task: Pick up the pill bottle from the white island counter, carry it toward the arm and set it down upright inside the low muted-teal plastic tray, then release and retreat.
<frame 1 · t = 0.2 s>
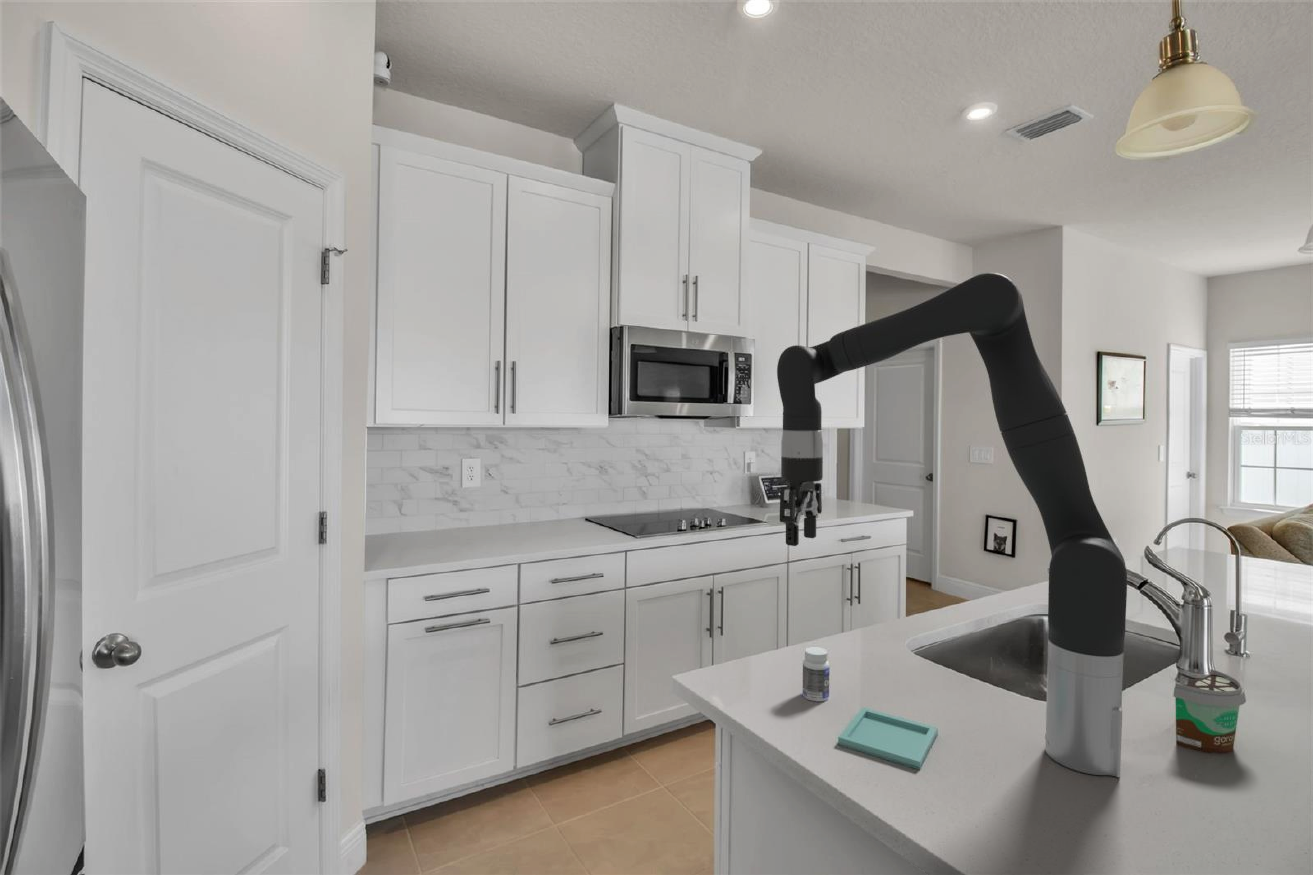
hand: (801, 541, 118), 27 cm above the counter, fingers open, 8 cm apart
pill bottle: (815, 697, 115), on the counter
tray: (888, 739, 100), on the counter
food container: (1215, 747, 98), on the counter
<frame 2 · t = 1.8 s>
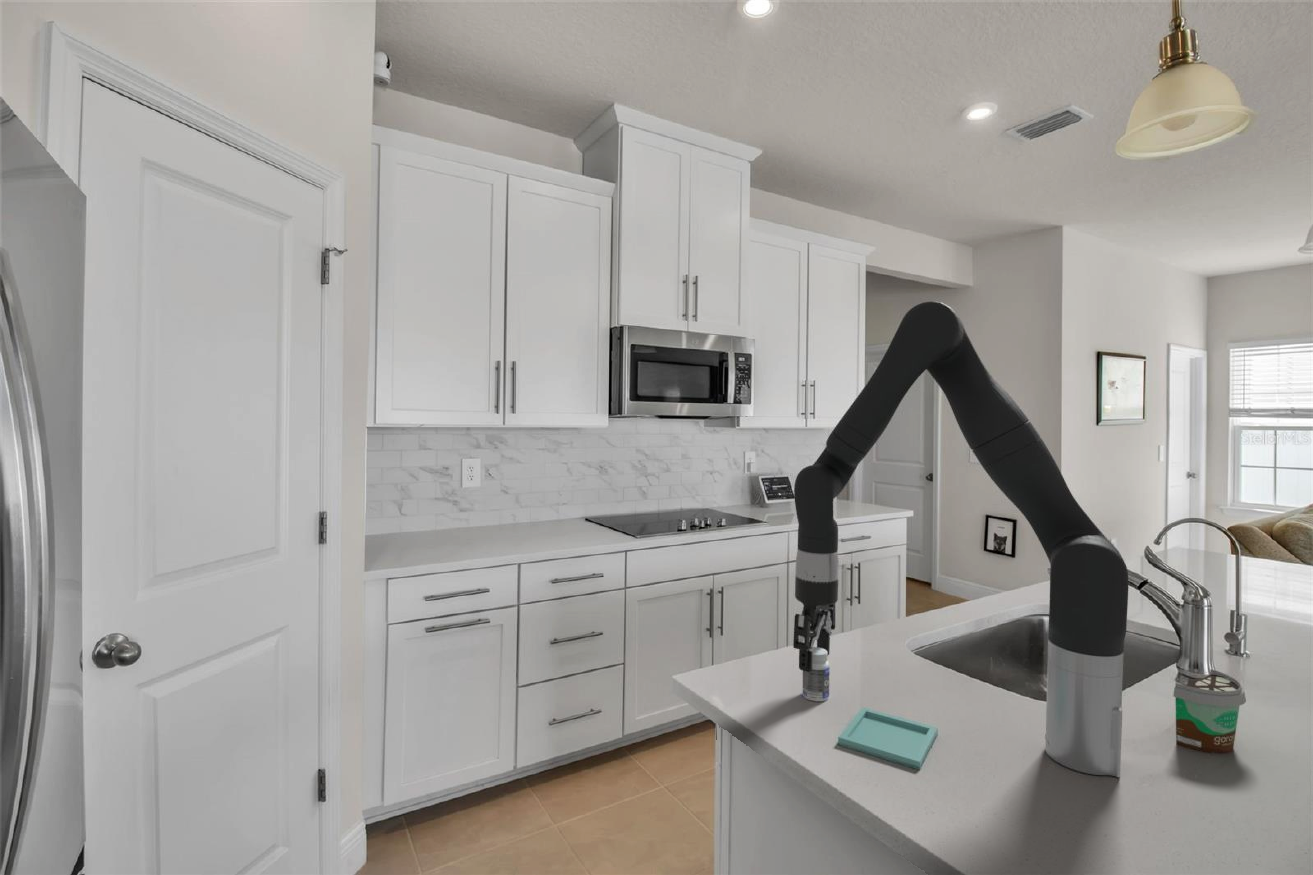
hand: (814, 662, 115), 6 cm above the counter, fingers open, 8 cm apart
nothing on the counter moved.
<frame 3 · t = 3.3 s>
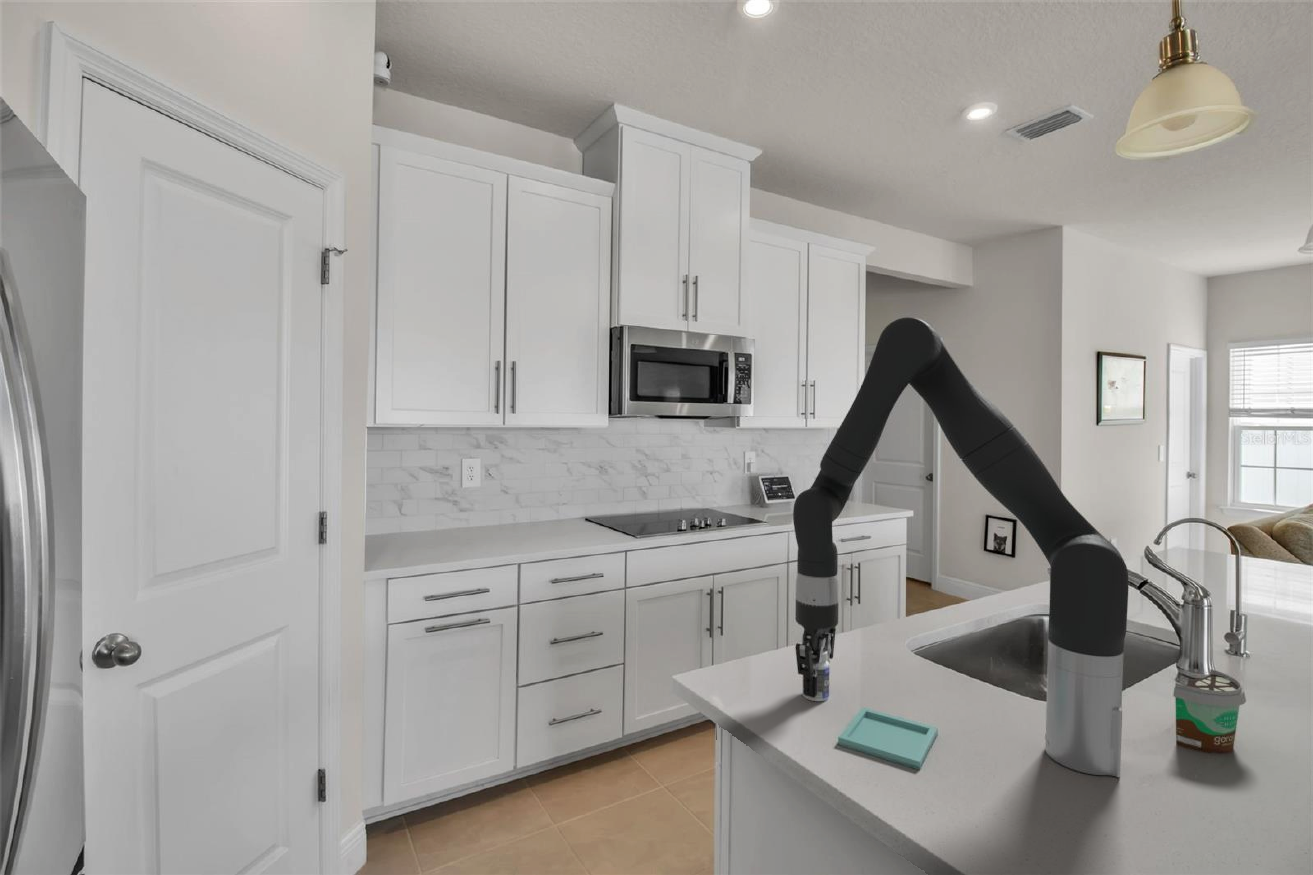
hand: (815, 689, 115), 1 cm above the counter, fingers closed on pill bottle, 4 cm apart
pill bottle: (815, 697, 115), on the counter, touching gripper
everything else where it was.
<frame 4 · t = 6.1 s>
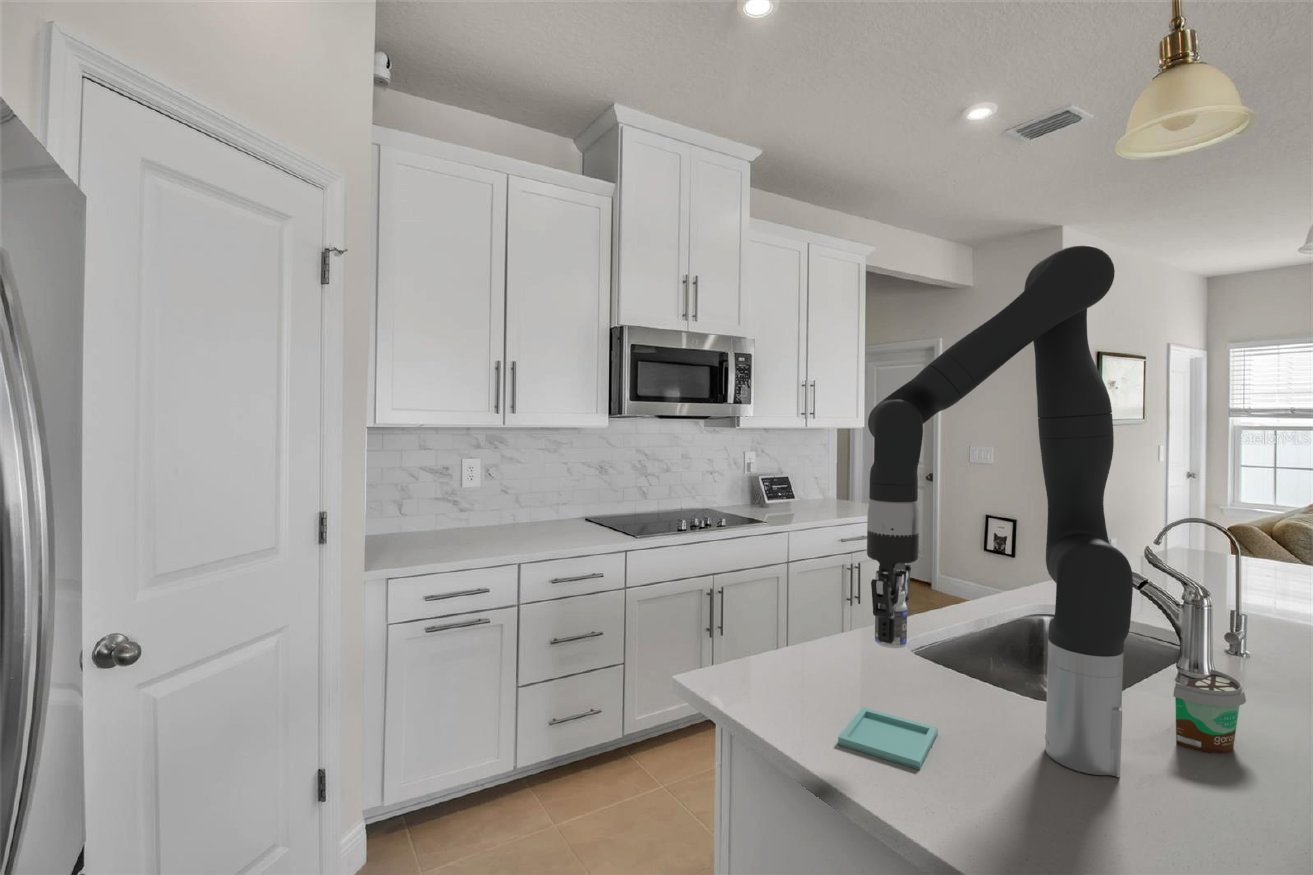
hand: (890, 636, 99), 17 cm above the counter, fingers closed on pill bottle, 4 cm apart
pill bottle: (890, 644, 99), point 15 cm above the counter, touching gripper
everything else where it was.
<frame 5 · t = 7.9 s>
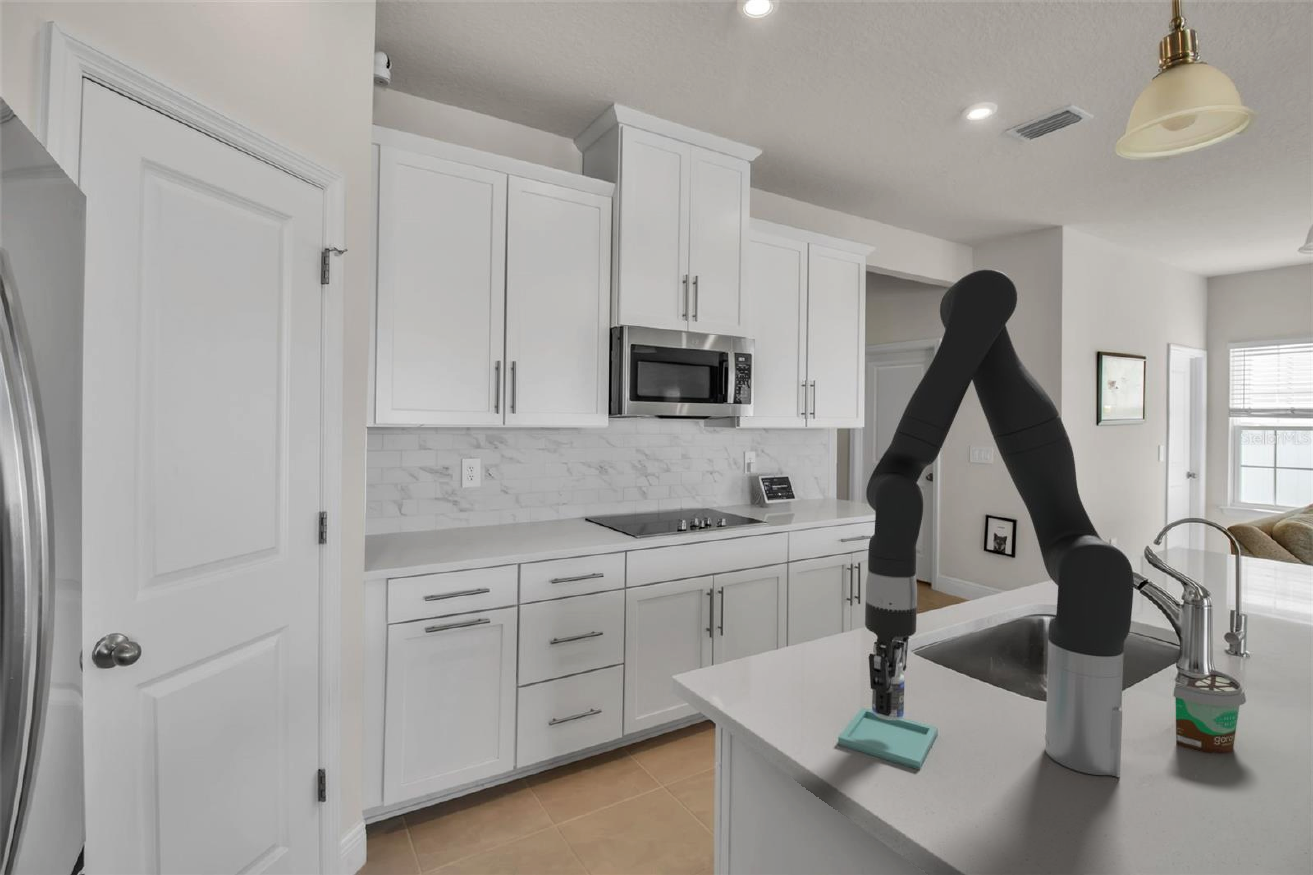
hand: (888, 706, 100), 5 cm above the counter, fingers closed on pill bottle, 4 cm apart
pill bottle: (887, 715, 100), point 4 cm above the counter, touching gripper
everything else where it was.
when the fingers open (3 cm above the counter, at t = 9.3 s): pill bottle drops 1 cm, resting on tray.
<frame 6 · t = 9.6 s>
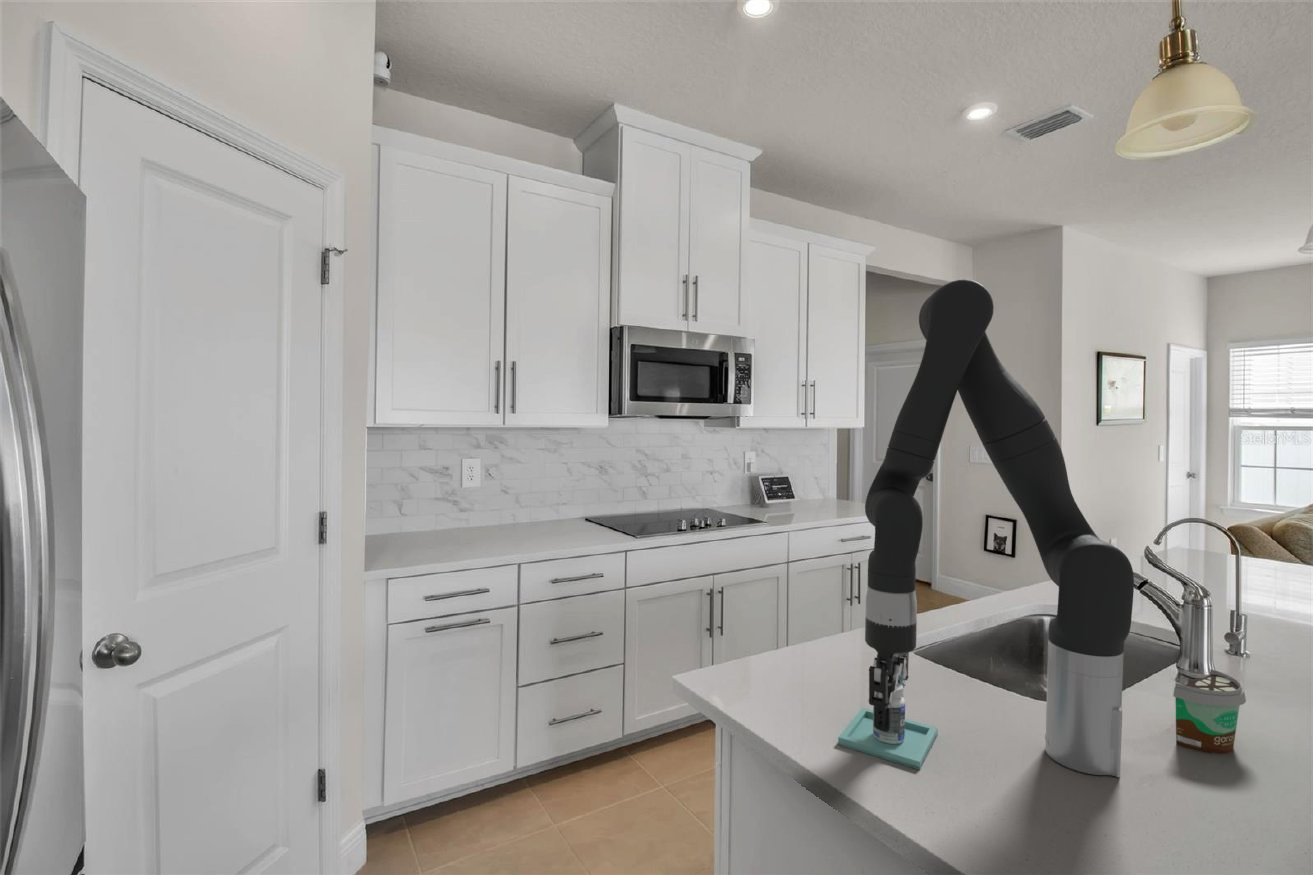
hand: (888, 719, 100), 3 cm above the counter, fingers open, 7 cm apart
pill bottle: (888, 738, 100), resting on tray
everything else where it was.
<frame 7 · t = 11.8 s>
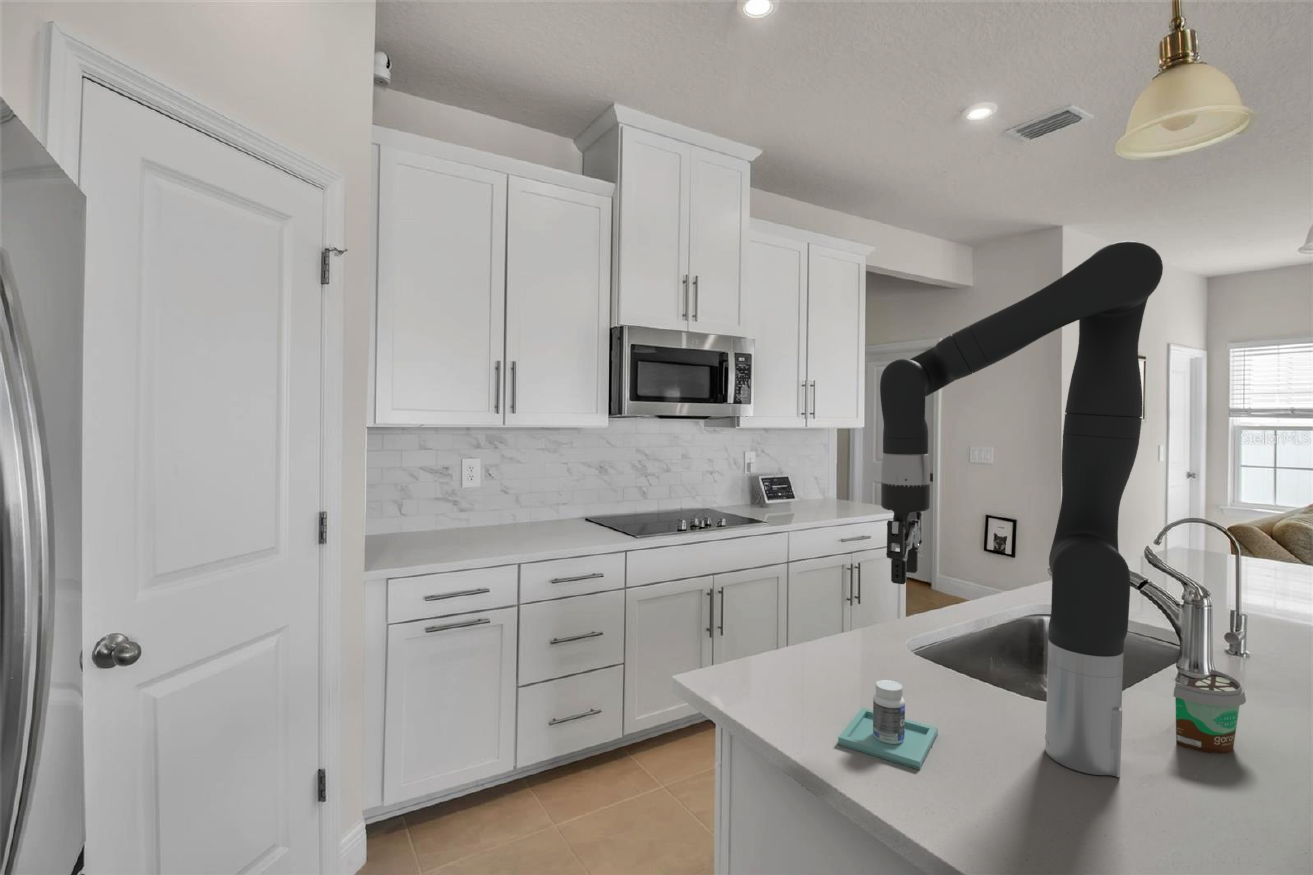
hand: (904, 577, 106), 24 cm above the counter, fingers open, 8 cm apart
nothing on the counter moved.
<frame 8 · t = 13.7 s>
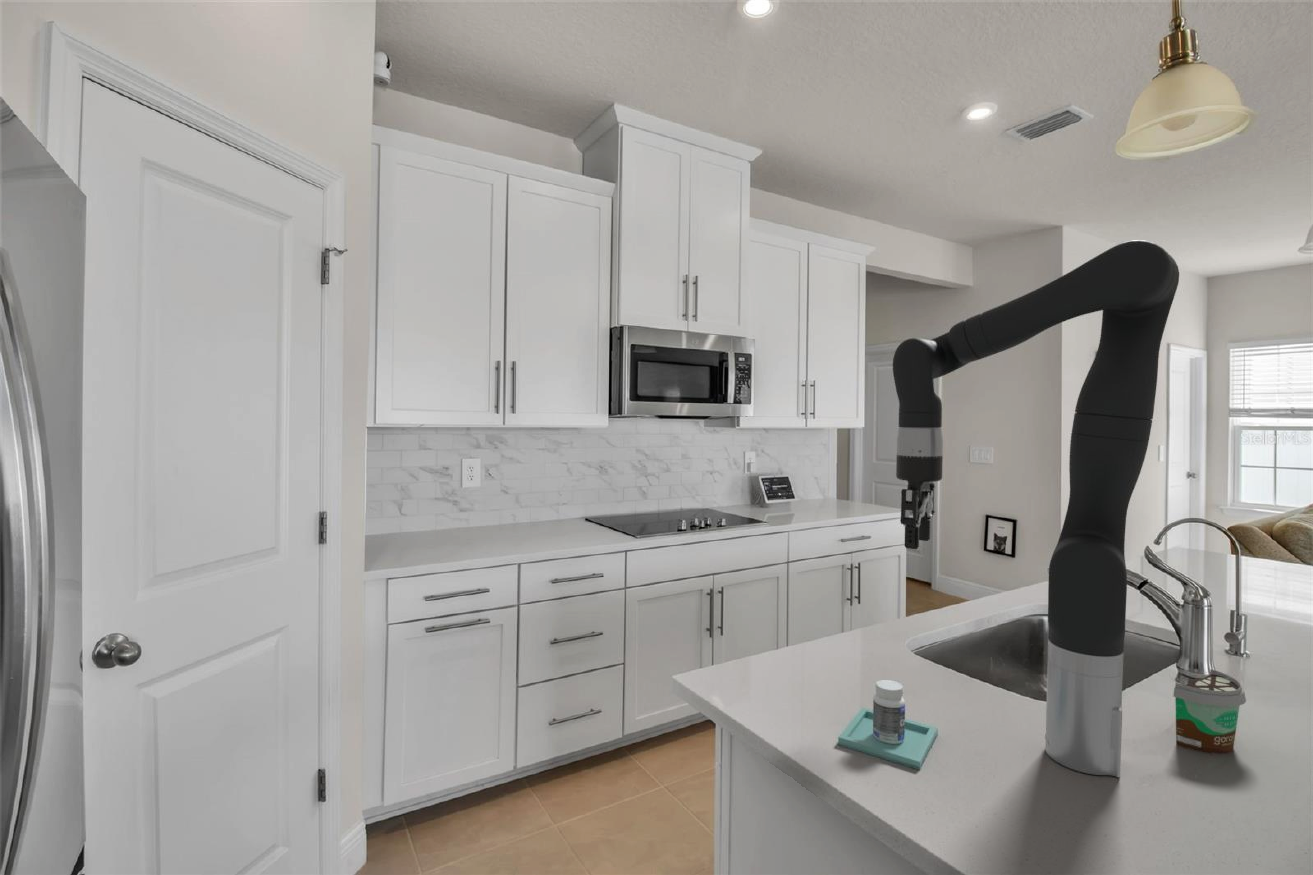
hand: (917, 544, 112), 28 cm above the counter, fingers open, 8 cm apart
nothing on the counter moved.
at the end: pill bottle 0.0 cm from the tray (horizontally); pill bottle tilted 0°; pill bottle resting on tray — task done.
